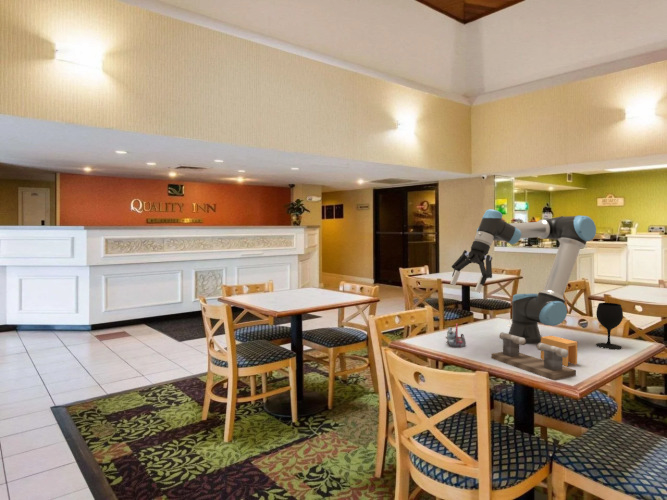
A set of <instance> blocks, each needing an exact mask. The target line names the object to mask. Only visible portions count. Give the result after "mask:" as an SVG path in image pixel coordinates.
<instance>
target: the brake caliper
mask: <svg viewBox="0 0 667 500" xmlns="http://www.w3.org/2000/svg"><path fill="white" fill-rule="evenodd" d="M458 326H459V324H458V323H456V324H455V330H453V327H447V328H448V329H447V331H446V335H445V337H444V338H445V339H446V342H445V344H446V343H447V344H449V345H450V346H451V348H452V347H453V348H465V346H466V343H467V341H466V339H465V336H464V333H461V334H460V336H458V335H459V333H458Z"/></svg>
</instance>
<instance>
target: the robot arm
mask: <svg viewBox="0 0 667 500" xmlns="http://www.w3.org/2000/svg"><path fill="white" fill-rule="evenodd" d="M596 226H597V225H596V224H595V221H594V220H593V219H592V217H590V216H588V215H571V216H567V215H566V216H556V217H552V218H545V219H539V220H538V221H534V222H533V221H532V222H531V221H530V222H516V223H515V222H514V223H513V222H512V223H509V222H506V221H505V220H503V214H502V212H501V211H499V210H496V209H493V208H492V209H487V210H485V212H484V214H483V215H482V218H481V221H480V224H479V226H478V227H477V229H476V233H475V237H474V241H473V242H472V243H471V247H470V251H467V250H464V251H463V252H462V254H461V255H460V256H459V258H458V259H456V261H455V262H454V263H453V264H452V265H451V268H452V269H453V272H452V278H451V281H450V283H449V284H450V285H453V286H454V287H455V286H456V284H457V282H458V280H459V276H460V274H461V270H463V269H464V268H465V267H467V266H469V264H476V265H478V266H479V269H480V273H481V275H480V276H479V278H478V281H477V283H476V286H475V289H474V291H475V292H477V293H481V291H482V288H483V286H484V285H485V284H486V281H487V279H492V278H493V269H492V268H493V267H492V260H493V257H492V255H490V254H489V251H490V249H491V246H492V244H493V241H496V242H497V241H499V242H505V243H507V244H510V245H515V244H517V243H518V242H519V241H520V239H530V238H539V239H541V240H544V239H549V240H557V241H558V242H559V246H558V248H557V249H558V250H557V251H556V255H555V257H554V259H553V263H552V266H551V268H550V271H549V274H548V276H547V279H546V282H545V285H544V288H543V290H541V291H538V293H515V294H513V295H512V302H511V304H512V305H511V307H512V308H511V311H512V312H511V316H512V318H511V320H512V321H511V324H512V325H510V327H509V328H510V329H509V332H507V334H511V335H514V336H518V337H522V338H525V340H526V342H525V344H538V343H541V337H542V335H541V333H540V328H539V324H542V325H544V326H552V327H555V326H558V325H561V324H562V323H563V322H564V321H565V319H566V317H567V315H568V310H567V309H568V308H567V306H566V304H565V303H566V299H565V298H564V296H565V291H566V289H567V286H568V283H569V280H570V278H571V275H572V272H573V269H574V267H575V264H576V260H577V258H578V256H579V254H580V250H581V249H583V248H585V247H586V244H587V242H589V241H592V240H593V239H594V238H595V237H596V235H597V227H596ZM484 261H485V262H484Z"/></svg>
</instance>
